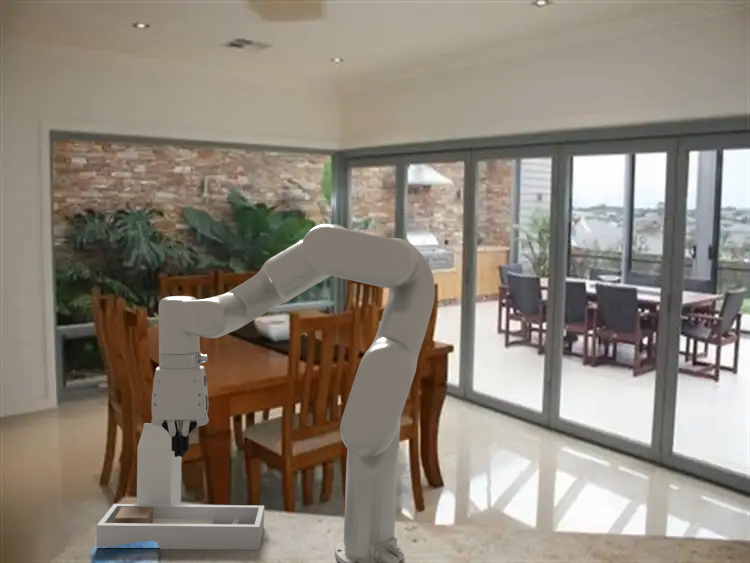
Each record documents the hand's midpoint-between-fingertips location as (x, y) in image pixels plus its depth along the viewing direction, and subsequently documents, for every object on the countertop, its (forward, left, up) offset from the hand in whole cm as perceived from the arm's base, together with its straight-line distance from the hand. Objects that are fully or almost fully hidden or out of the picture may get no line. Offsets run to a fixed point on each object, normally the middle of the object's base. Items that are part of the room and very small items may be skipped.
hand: (180, 454), depth 133 cm
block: (+5, +7, -15) cm, 17 cm away
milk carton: (+14, -1, -17) cm, 22 cm away
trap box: (0, -1, -17) cm, 17 cm away
